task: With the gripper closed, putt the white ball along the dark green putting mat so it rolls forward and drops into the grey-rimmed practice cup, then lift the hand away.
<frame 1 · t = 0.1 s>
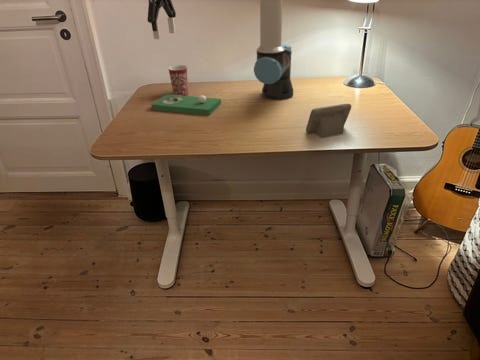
hand: (165, 35, 157), 28 cm above the table, fingers open, 13 cm apart
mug: (181, 94, 175), on the table
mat: (187, 106, 159), on the table
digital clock: (326, 132, 132), on the table
ball: (202, 99, 154), point 4 cm above the table, touching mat
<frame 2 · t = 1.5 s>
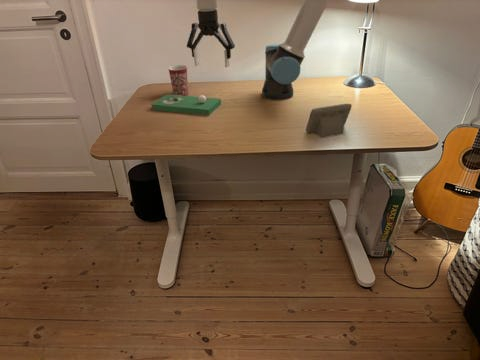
hand: (212, 65, 145), 19 cm above the table, fingers open, 13 cm apart
nothing on the table moved.
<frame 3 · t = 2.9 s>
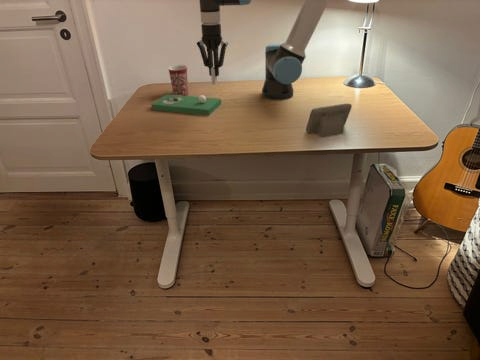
hand: (214, 83, 148), 12 cm above the table, fingers closed
nothing on the table moved.
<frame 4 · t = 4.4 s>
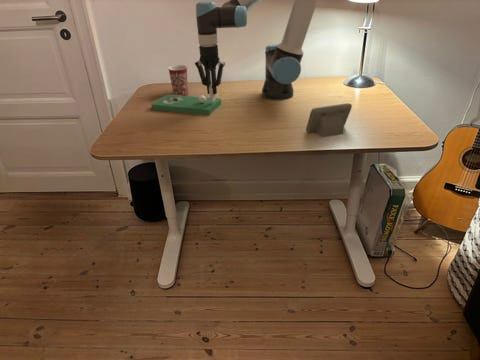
hand: (212, 101, 153), 4 cm above the table, fingers closed
nothing on the table moved.
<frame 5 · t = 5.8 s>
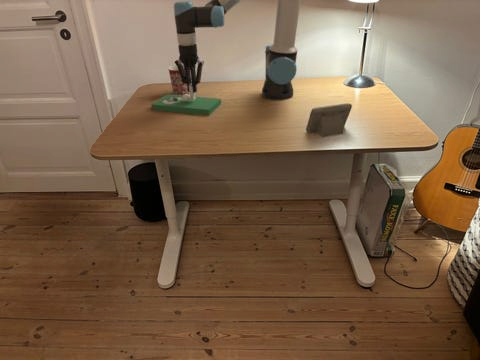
hand: (193, 99, 156), 4 cm above the table, fingers closed
ball: (186, 97, 156), point 4 cm above the table, tilted 108°, touching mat
everything else where it was.
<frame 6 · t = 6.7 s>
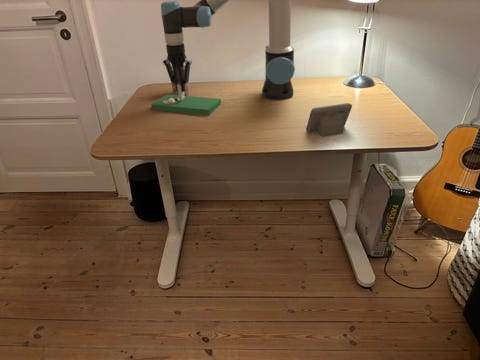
hand: (181, 98, 157), 4 cm above the table, fingers closed
ball: (171, 101, 160), point 2 cm above the table, tilted 179°
everything else where it was.
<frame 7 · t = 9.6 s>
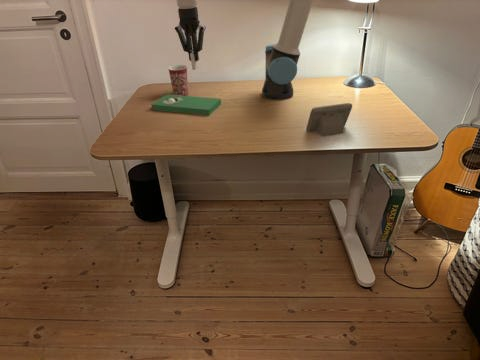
hand: (195, 68, 148), 17 cm above the table, fingers closed
nothing on the table moved.
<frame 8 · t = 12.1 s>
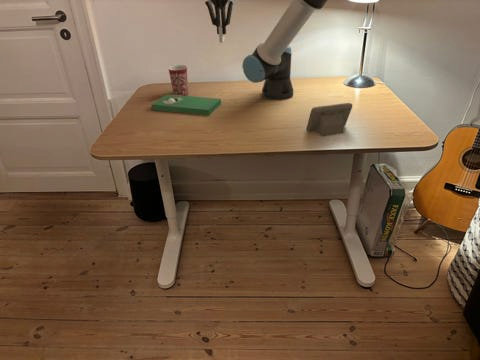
hand: (222, 41, 158), 24 cm above the table, fingers closed
at the end: ball 0.6 cm from the target spot on the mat, point 1.7 cm above the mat's base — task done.
